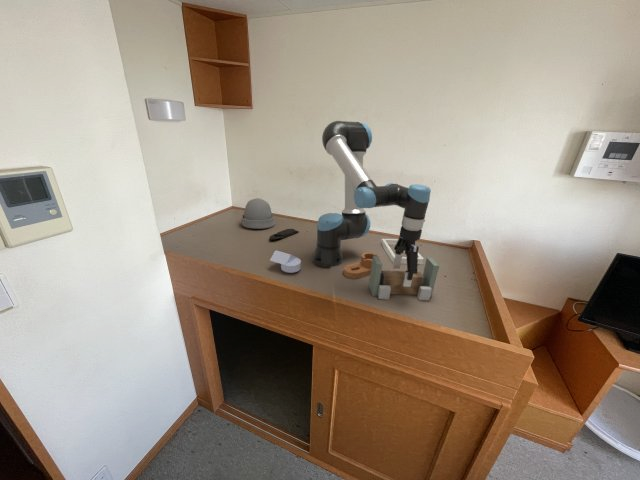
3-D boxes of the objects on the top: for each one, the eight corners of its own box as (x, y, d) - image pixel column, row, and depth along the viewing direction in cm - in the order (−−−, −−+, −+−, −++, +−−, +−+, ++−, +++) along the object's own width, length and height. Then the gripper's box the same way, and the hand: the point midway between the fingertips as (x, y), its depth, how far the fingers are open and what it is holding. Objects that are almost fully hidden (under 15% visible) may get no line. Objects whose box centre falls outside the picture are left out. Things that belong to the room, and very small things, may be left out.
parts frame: (393, 263, 133) (394, 258, 132) (381, 243, 156) (381, 238, 155) (422, 264, 134) (424, 259, 133) (406, 244, 157) (407, 239, 156)
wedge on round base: (269, 266, 124) (293, 274, 118) (269, 253, 121) (294, 260, 116) (281, 259, 131) (304, 266, 126) (281, 246, 129) (304, 253, 123)
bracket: (369, 264, 132) (371, 251, 129) (381, 271, 126) (383, 258, 123) (339, 272, 123) (341, 258, 120) (350, 280, 116) (352, 266, 114)
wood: (290, 228, 169) (291, 224, 168) (299, 232, 166) (300, 228, 164) (263, 238, 153) (263, 233, 152) (272, 243, 149) (272, 238, 148)
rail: (381, 293, 108) (384, 276, 105) (378, 287, 112) (381, 270, 109) (420, 294, 109) (424, 277, 106) (416, 288, 113) (420, 271, 110)
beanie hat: (276, 235, 180) (282, 206, 183) (265, 229, 159) (271, 196, 162) (248, 231, 184) (253, 203, 187) (233, 225, 163) (239, 193, 166)
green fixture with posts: (373, 299, 104) (378, 267, 99) (367, 282, 115) (371, 253, 110) (434, 300, 105) (442, 268, 100) (422, 283, 117) (429, 254, 111)
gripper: (435, 241, 89) (421, 295, 97) (410, 216, 111) (400, 262, 120) (413, 240, 88) (401, 294, 97) (392, 216, 111) (384, 261, 120)
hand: (401, 276), depth 108 cm, fingers open, 13 cm apart
